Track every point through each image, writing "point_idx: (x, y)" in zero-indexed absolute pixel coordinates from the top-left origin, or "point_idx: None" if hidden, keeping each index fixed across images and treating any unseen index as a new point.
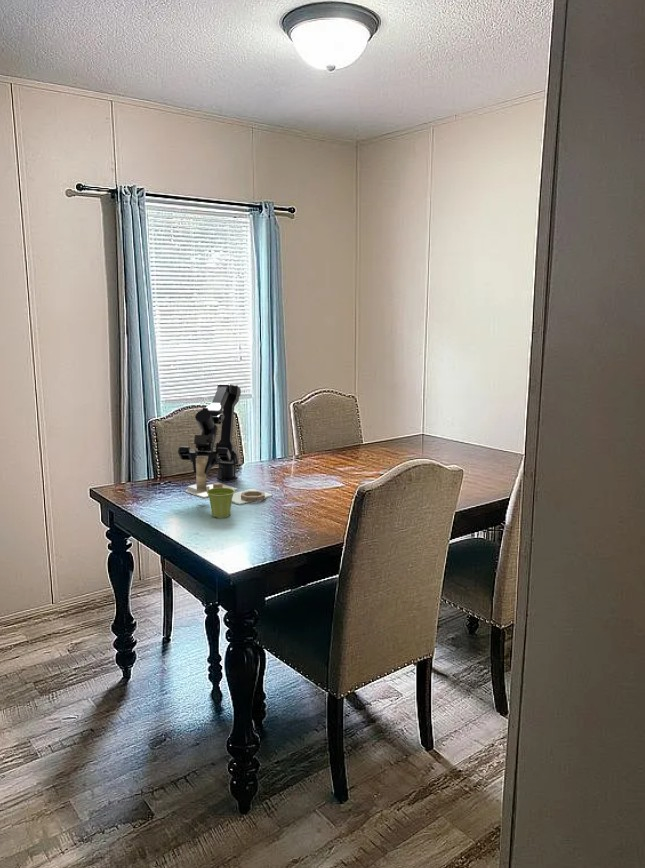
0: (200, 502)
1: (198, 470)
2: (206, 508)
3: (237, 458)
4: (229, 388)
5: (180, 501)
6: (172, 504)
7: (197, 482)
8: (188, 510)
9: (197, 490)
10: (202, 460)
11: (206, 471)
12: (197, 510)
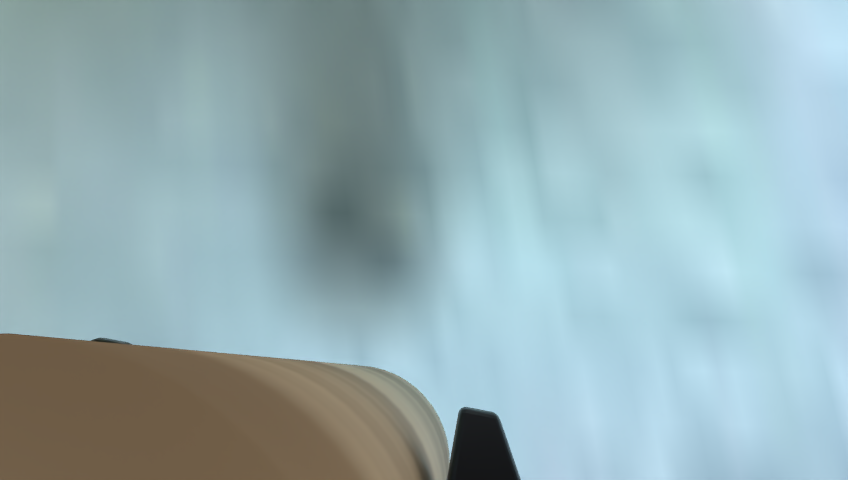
0: None
1: (320, 372)
2: (286, 118)
3: None
4: None
5: (712, 473)
6: (800, 319)
7: (410, 396)
8: (516, 37)
9: (427, 403)
10: None
11: None
12: (396, 36)
